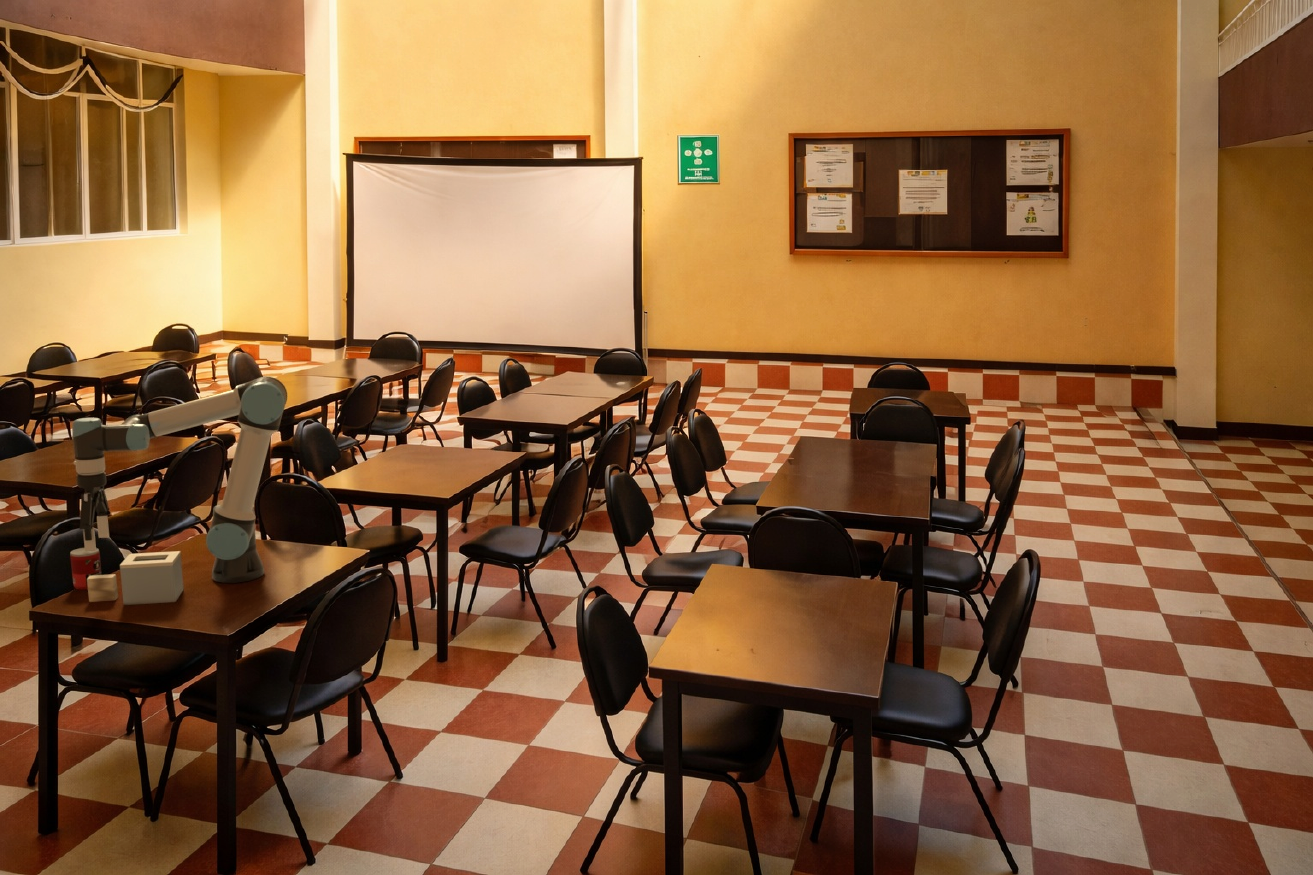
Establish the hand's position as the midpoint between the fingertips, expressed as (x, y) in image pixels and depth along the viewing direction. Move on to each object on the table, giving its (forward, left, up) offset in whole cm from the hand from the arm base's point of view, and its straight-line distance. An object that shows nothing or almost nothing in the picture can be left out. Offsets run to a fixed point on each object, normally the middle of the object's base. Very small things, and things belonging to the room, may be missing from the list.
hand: (97, 543), depth 316 cm
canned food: (+8, -14, -17) cm, 23 cm away
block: (0, 0, -17) cm, 17 cm away
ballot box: (-14, +1, -17) cm, 22 cm away
